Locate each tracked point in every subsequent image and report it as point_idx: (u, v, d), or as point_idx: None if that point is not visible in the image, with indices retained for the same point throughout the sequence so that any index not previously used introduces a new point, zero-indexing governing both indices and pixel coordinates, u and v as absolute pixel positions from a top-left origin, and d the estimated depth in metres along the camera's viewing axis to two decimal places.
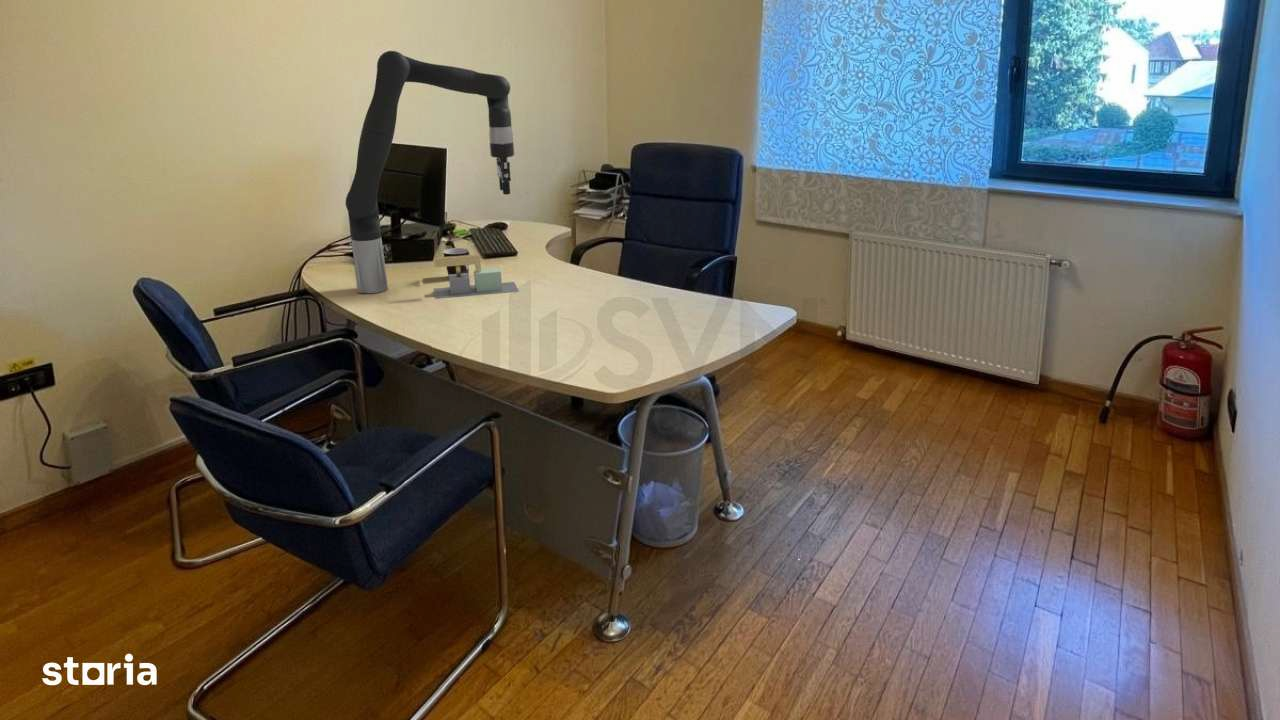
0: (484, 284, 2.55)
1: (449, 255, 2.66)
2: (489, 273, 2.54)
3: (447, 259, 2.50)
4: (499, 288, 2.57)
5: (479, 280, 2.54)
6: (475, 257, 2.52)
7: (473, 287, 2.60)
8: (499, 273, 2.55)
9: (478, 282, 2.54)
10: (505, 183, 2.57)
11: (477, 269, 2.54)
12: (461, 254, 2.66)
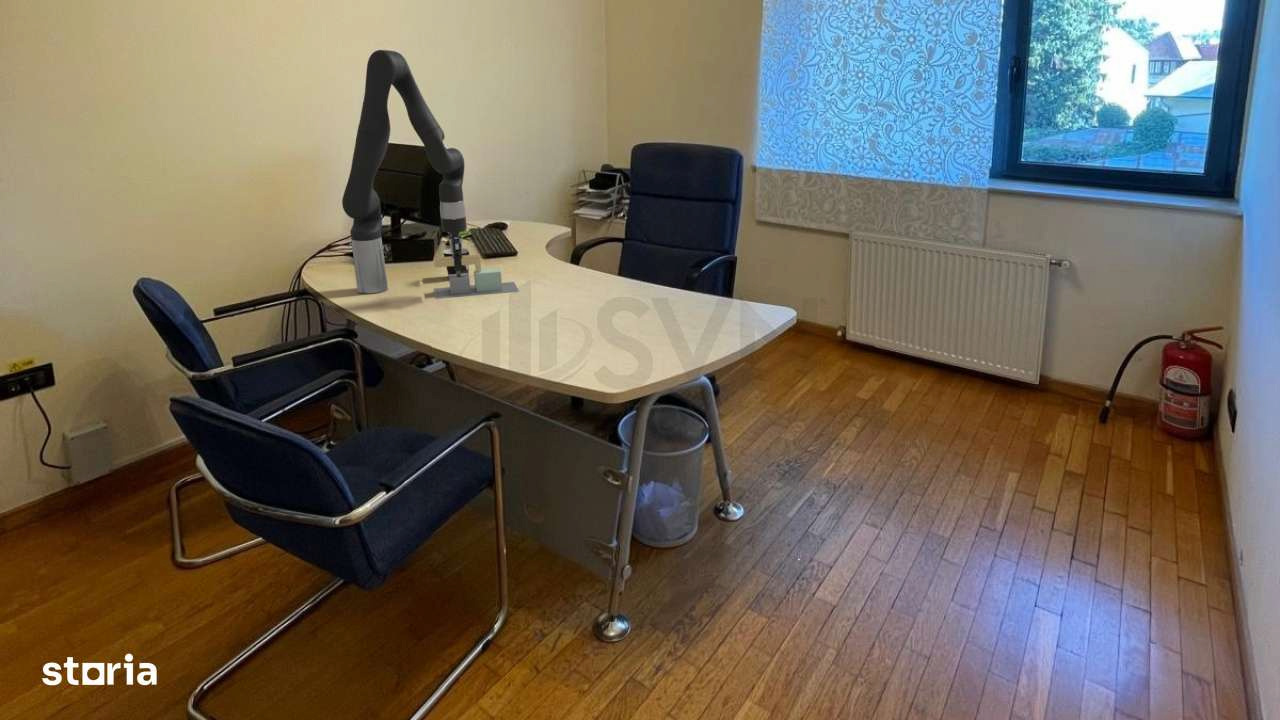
0: (484, 284, 2.55)
1: (449, 255, 2.66)
2: (489, 273, 2.54)
3: (447, 259, 2.50)
4: (499, 288, 2.57)
5: (479, 280, 2.54)
6: (475, 257, 2.52)
7: (473, 287, 2.60)
8: (499, 273, 2.55)
9: (478, 282, 2.54)
10: (456, 260, 2.50)
11: (477, 269, 2.54)
12: None
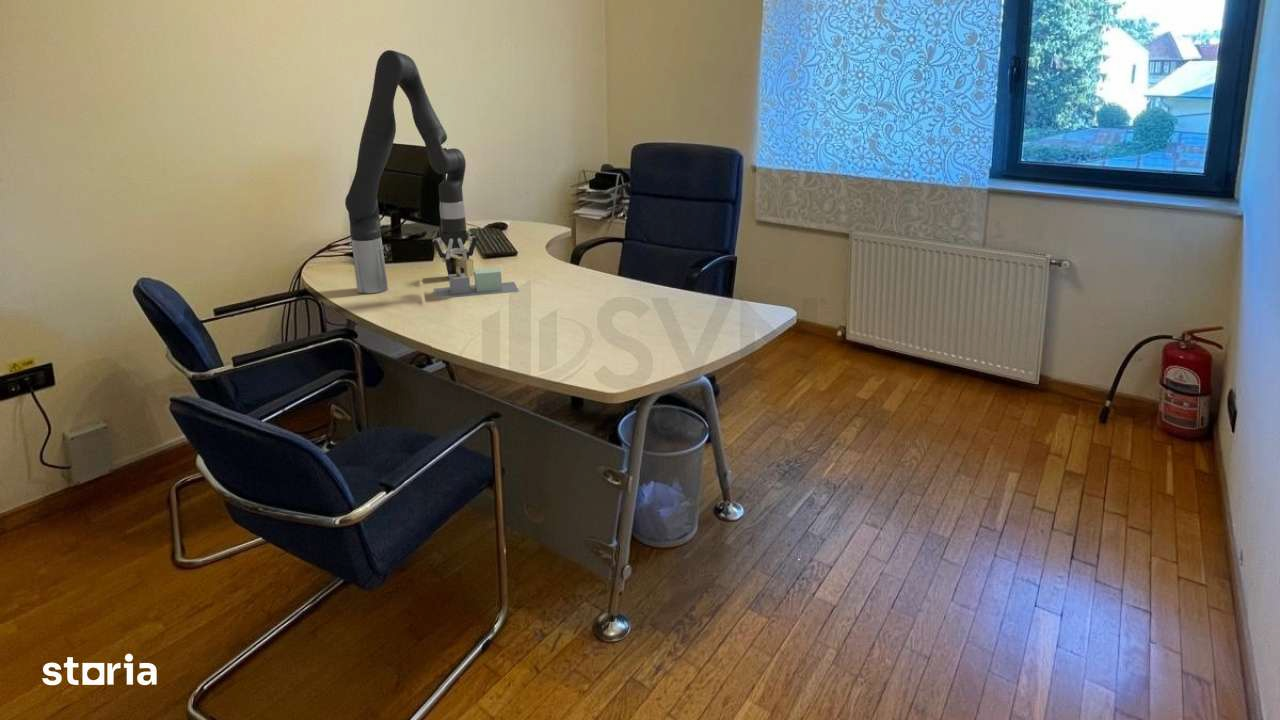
0: (484, 284, 2.55)
1: None
2: (489, 273, 2.54)
3: None
4: (499, 288, 2.57)
5: (479, 280, 2.54)
6: (463, 262, 2.47)
7: (473, 287, 2.60)
8: (499, 273, 2.55)
9: (478, 282, 2.54)
10: None
11: (465, 274, 2.49)
12: (461, 254, 2.66)
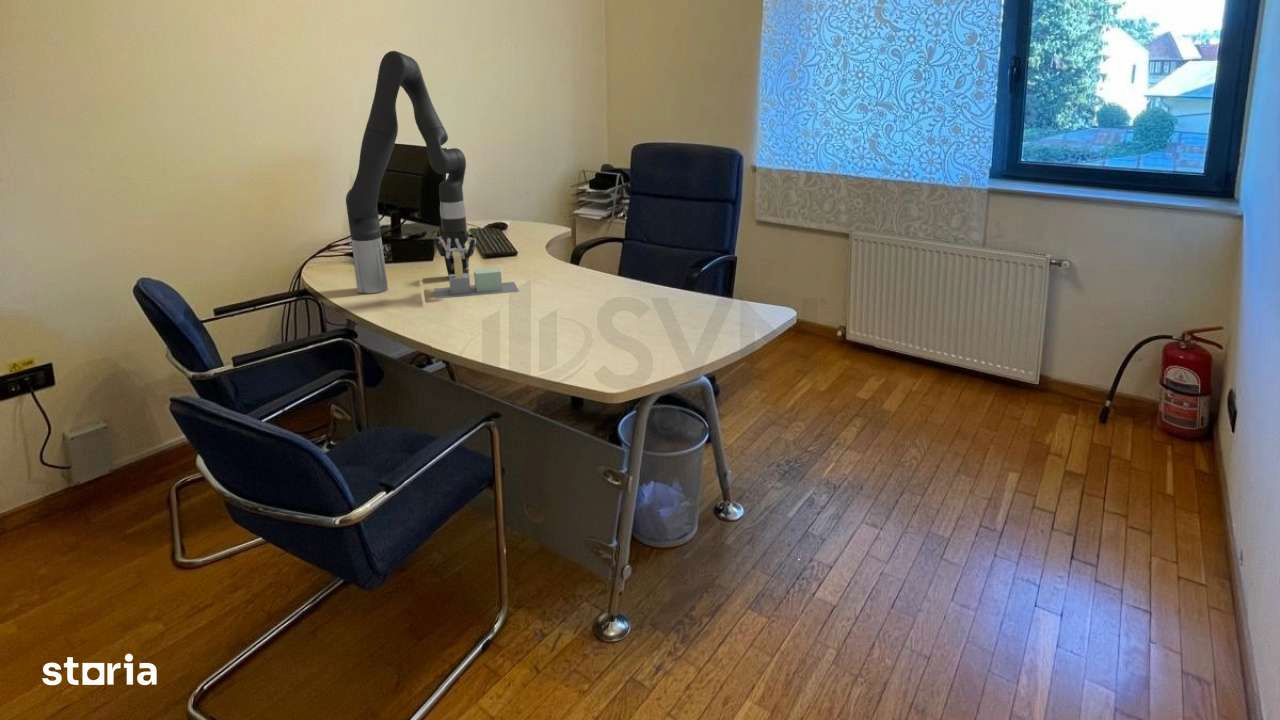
0: (484, 284, 2.55)
1: None
2: (489, 273, 2.54)
3: None
4: (499, 288, 2.57)
5: (479, 280, 2.54)
6: None
7: (473, 287, 2.60)
8: (499, 273, 2.55)
9: (478, 282, 2.54)
10: None
11: (455, 275, 2.48)
12: None
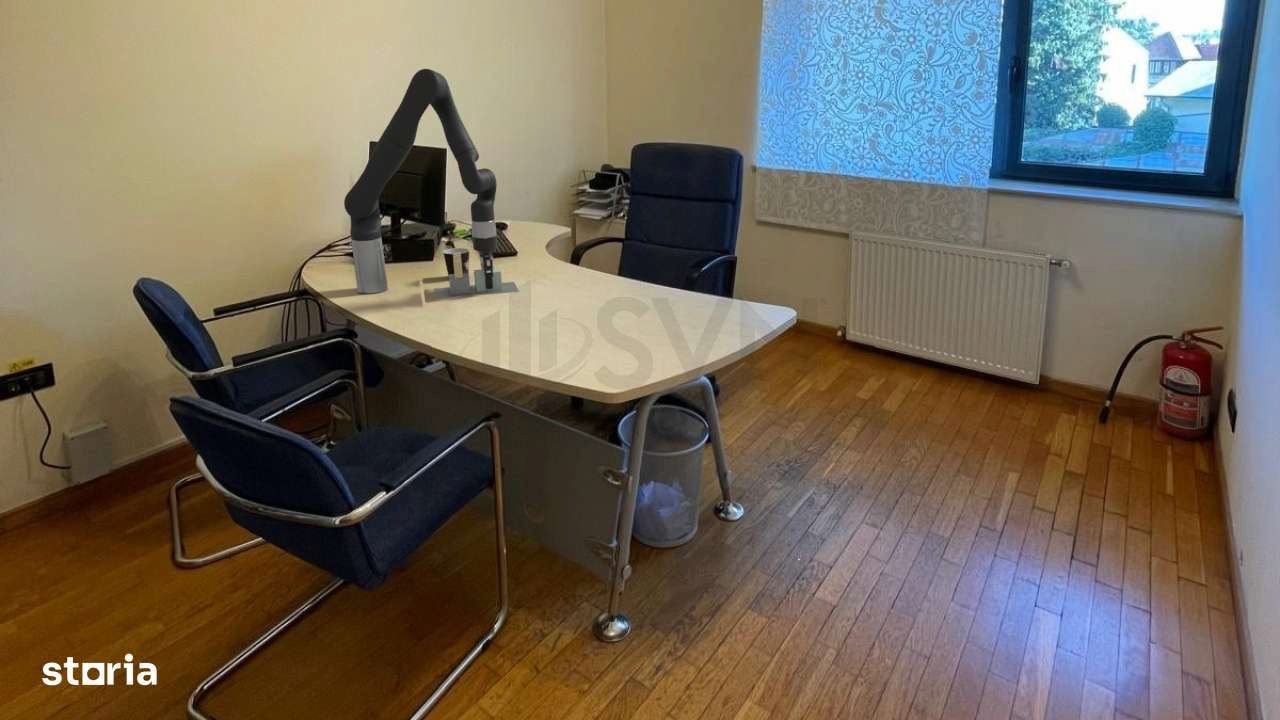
0: (484, 284, 2.55)
1: (449, 255, 2.66)
2: None
3: (453, 255, 2.54)
4: (499, 288, 2.57)
5: (479, 280, 2.54)
6: None
7: (473, 287, 2.60)
8: (499, 273, 2.55)
9: (478, 282, 2.54)
10: (488, 278, 2.53)
11: None
12: (461, 254, 2.66)
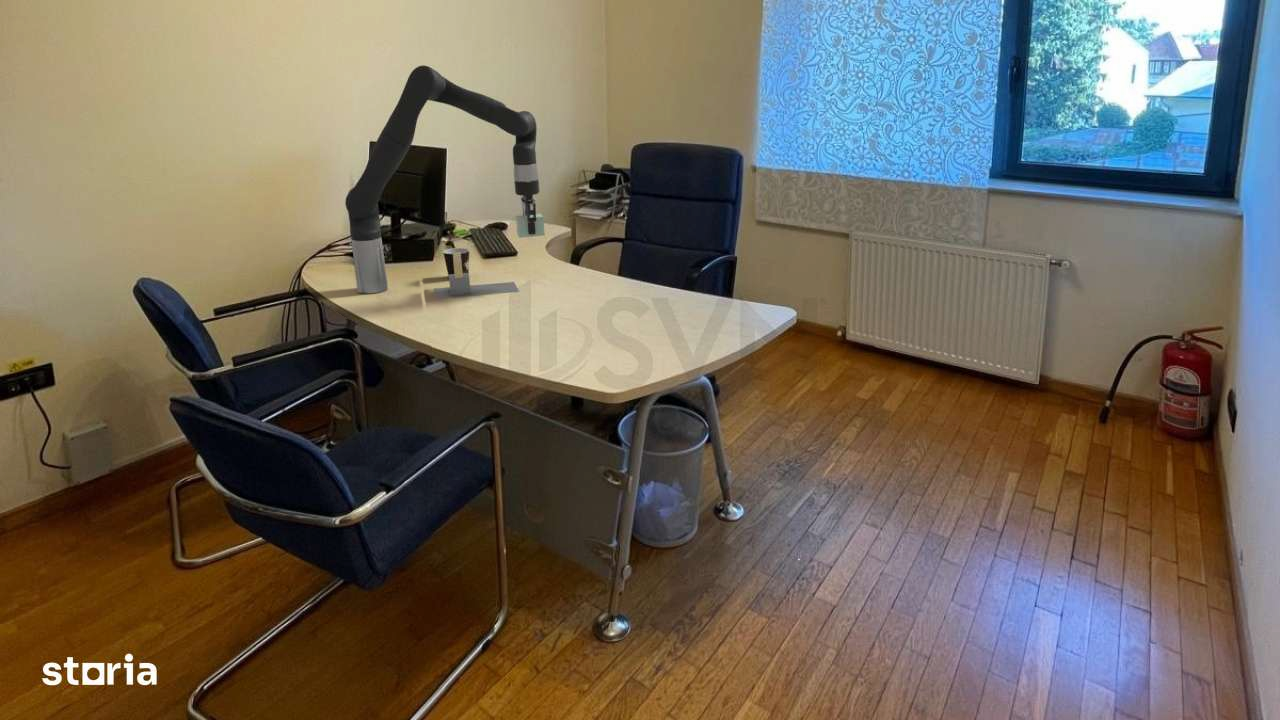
0: (526, 230, 2.53)
1: (449, 255, 2.66)
2: None
3: (453, 255, 2.54)
4: (542, 233, 2.54)
5: (521, 226, 2.52)
6: None
7: (473, 287, 2.60)
8: (541, 218, 2.53)
9: (520, 227, 2.52)
10: (530, 223, 2.51)
11: None
12: (461, 254, 2.66)
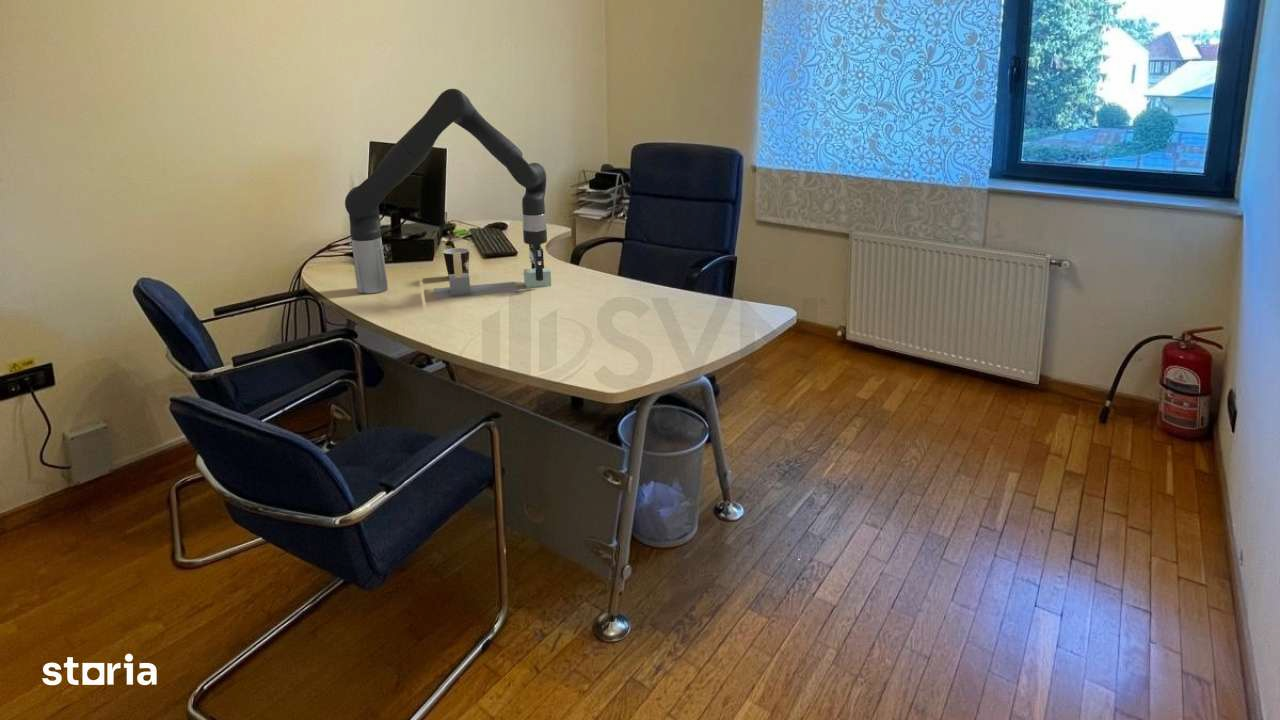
0: (534, 284, 2.59)
1: (449, 255, 2.66)
2: None
3: (453, 255, 2.54)
4: None
5: (529, 280, 2.58)
6: None
7: (473, 287, 2.60)
8: (549, 272, 2.59)
9: (528, 281, 2.58)
10: (538, 270, 2.55)
11: None
12: (461, 254, 2.66)
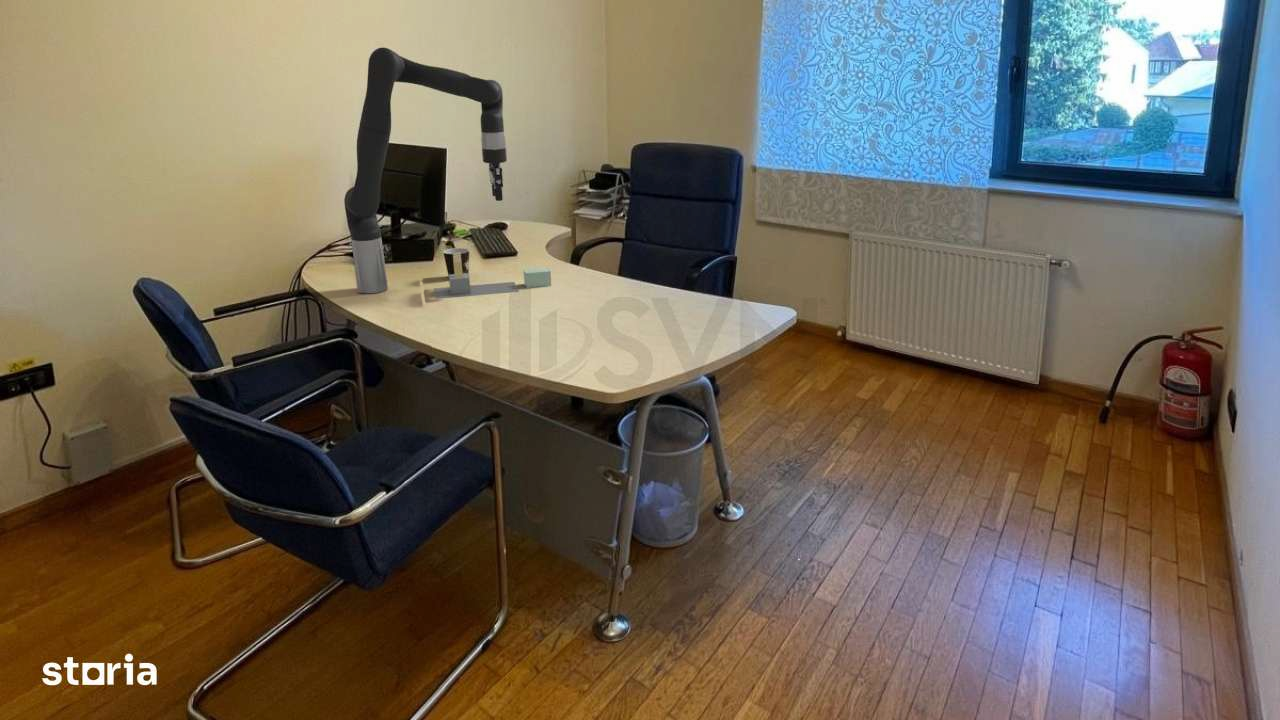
0: (534, 284, 2.59)
1: (449, 255, 2.66)
2: (539, 272, 2.59)
3: (453, 255, 2.54)
4: None
5: (529, 280, 2.58)
6: None
7: (473, 287, 2.60)
8: (549, 272, 2.59)
9: (528, 281, 2.58)
10: (497, 189, 2.53)
11: None
12: (461, 254, 2.66)
